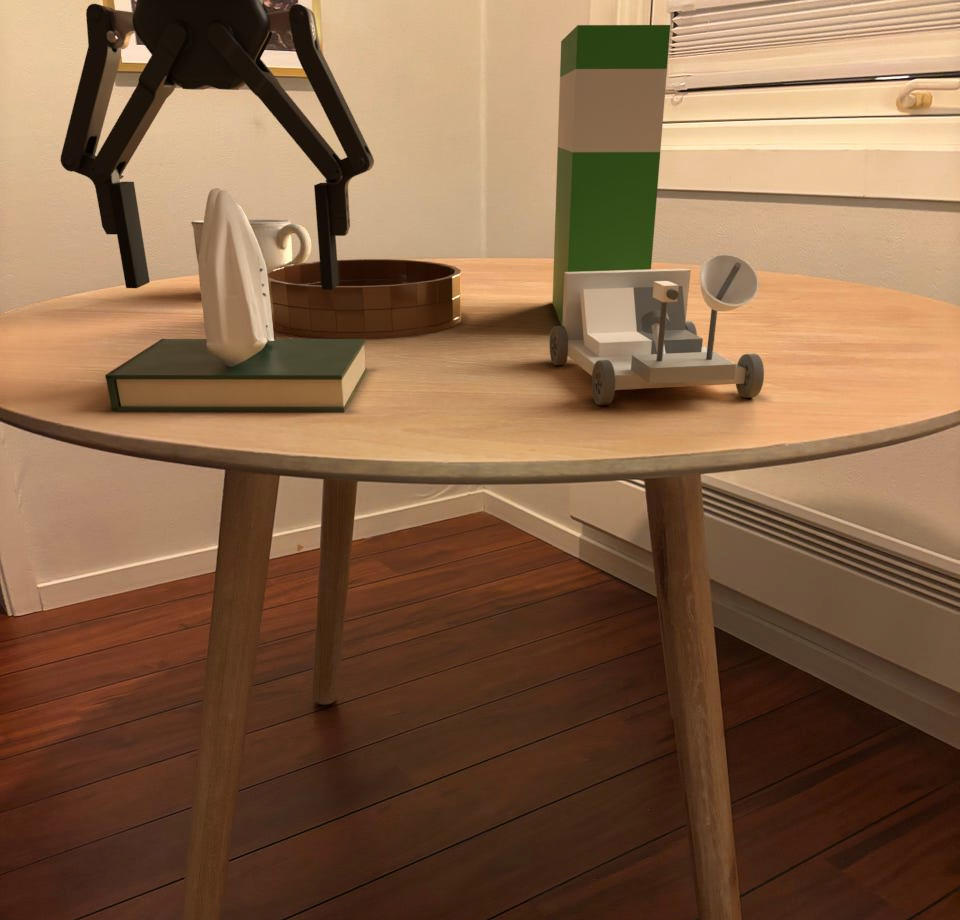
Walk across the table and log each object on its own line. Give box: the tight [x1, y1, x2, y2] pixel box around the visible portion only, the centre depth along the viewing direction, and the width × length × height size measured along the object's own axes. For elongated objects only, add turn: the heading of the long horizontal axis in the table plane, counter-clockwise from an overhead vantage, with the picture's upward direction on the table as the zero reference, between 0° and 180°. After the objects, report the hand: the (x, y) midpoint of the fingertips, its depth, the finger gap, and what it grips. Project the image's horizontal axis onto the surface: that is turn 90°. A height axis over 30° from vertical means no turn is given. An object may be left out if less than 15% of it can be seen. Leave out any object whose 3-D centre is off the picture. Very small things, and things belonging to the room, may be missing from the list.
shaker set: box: [197, 187, 275, 367], centre depth 66 cm, size 12×4×11 cm, turn 8°
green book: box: [104, 338, 368, 413], centre depth 69 cm, size 16×12×2 cm
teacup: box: [190, 219, 312, 270], centre depth 106 cm, size 14×11×8 cm
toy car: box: [548, 252, 765, 406], centre depth 68 cm, size 18×10×12 cm
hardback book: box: [552, 24, 672, 326], centre depth 89 cm, size 18×7×24 cm, turn 0°
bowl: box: [267, 258, 463, 340], centre depth 93 cm, size 19×19×4 cm
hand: (234, 286), depth 66 cm, fingers open, 13 cm apart
